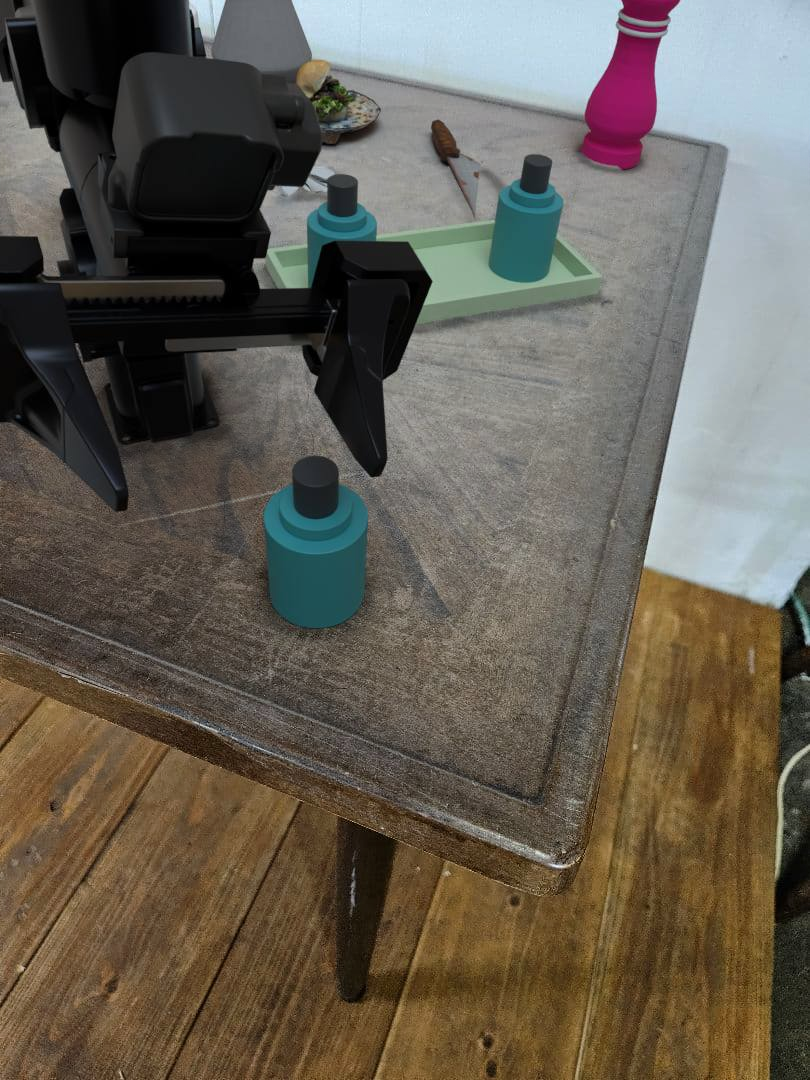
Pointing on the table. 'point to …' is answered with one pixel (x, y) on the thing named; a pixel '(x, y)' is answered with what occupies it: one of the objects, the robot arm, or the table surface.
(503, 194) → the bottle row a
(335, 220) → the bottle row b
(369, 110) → the plate of food
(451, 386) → the table surface
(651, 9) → the pepper mill
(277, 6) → the coffee pot
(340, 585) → the bottle loose
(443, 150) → the kitchen knife
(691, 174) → the table surface
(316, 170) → the flower
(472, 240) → the tray
